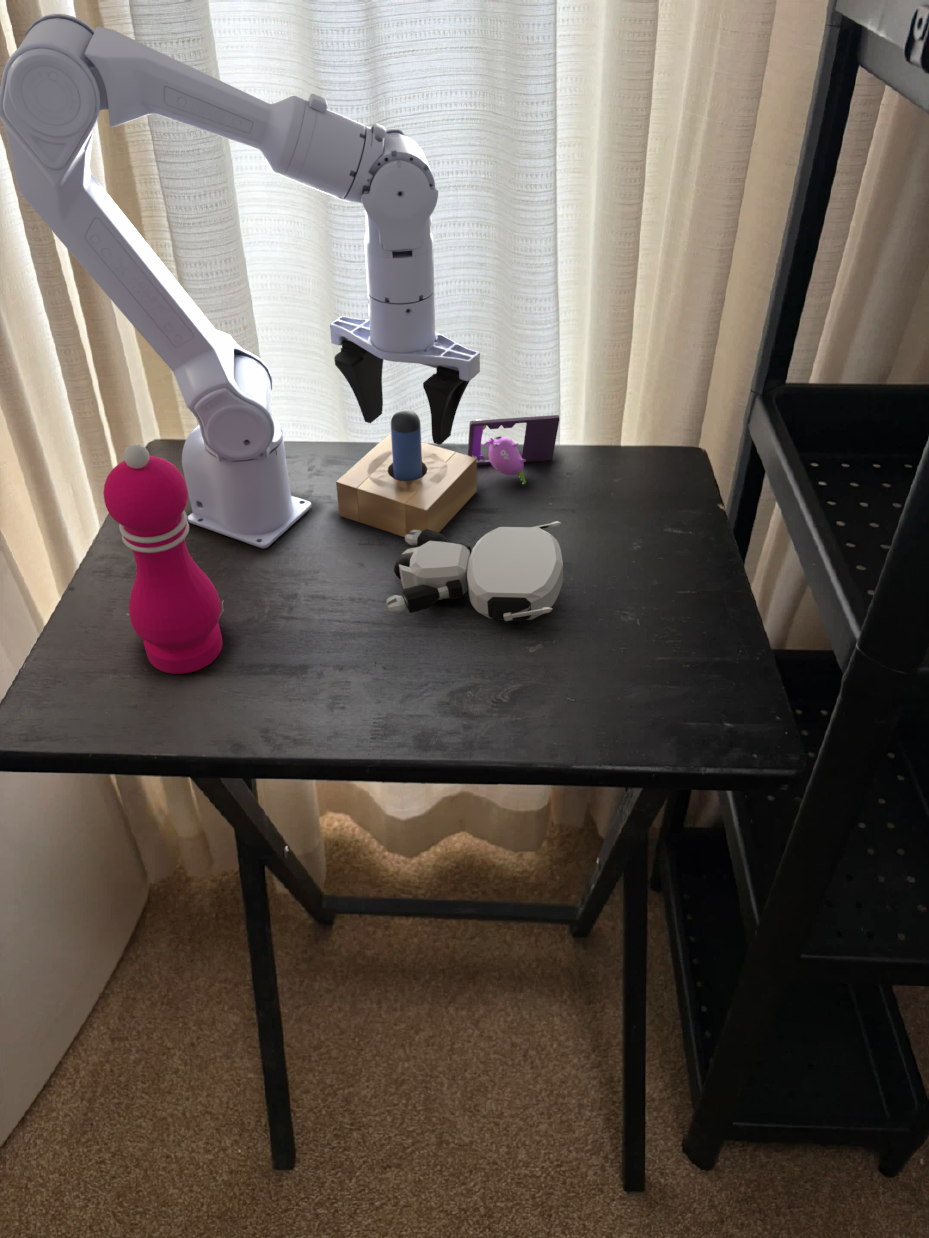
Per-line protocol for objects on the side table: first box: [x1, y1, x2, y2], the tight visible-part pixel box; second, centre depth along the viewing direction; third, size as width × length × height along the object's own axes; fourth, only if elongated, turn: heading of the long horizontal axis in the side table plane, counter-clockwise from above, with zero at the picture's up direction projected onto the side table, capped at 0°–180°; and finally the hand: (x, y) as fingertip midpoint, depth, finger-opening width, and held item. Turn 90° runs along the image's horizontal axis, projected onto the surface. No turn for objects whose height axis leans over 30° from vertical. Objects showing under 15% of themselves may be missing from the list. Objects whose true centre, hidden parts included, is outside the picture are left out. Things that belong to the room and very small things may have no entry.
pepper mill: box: [103, 443, 224, 675], centre depth 80 cm, size 7×7×20 cm
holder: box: [335, 432, 478, 538], centre depth 101 cm, size 10×10×4 cm
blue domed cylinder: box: [390, 408, 422, 481], centre depth 99 cm, size 3×3×10 cm
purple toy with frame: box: [467, 414, 560, 485], centre depth 104 cm, size 7×5×9 cm
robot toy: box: [385, 520, 564, 622], centre depth 91 cm, size 12×4×15 cm
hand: (407, 428), depth 97 cm, fingers open, 7 cm apart
